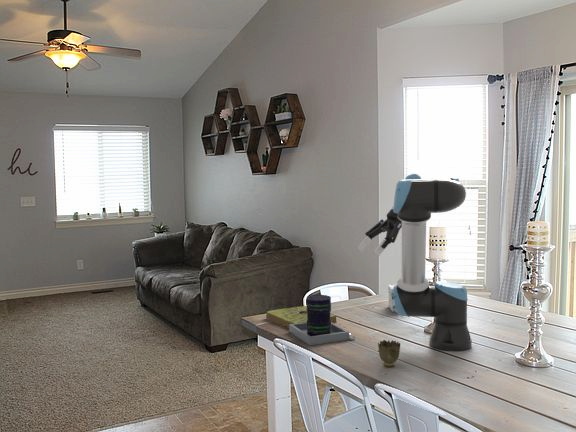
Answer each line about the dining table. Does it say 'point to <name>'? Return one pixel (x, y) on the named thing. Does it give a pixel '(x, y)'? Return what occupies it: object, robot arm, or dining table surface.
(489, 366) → the dining table surface
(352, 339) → the rod
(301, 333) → the tray
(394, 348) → the cup
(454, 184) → the robot arm
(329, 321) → the storage jar
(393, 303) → the light bulb box
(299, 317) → the miniature landscape model
